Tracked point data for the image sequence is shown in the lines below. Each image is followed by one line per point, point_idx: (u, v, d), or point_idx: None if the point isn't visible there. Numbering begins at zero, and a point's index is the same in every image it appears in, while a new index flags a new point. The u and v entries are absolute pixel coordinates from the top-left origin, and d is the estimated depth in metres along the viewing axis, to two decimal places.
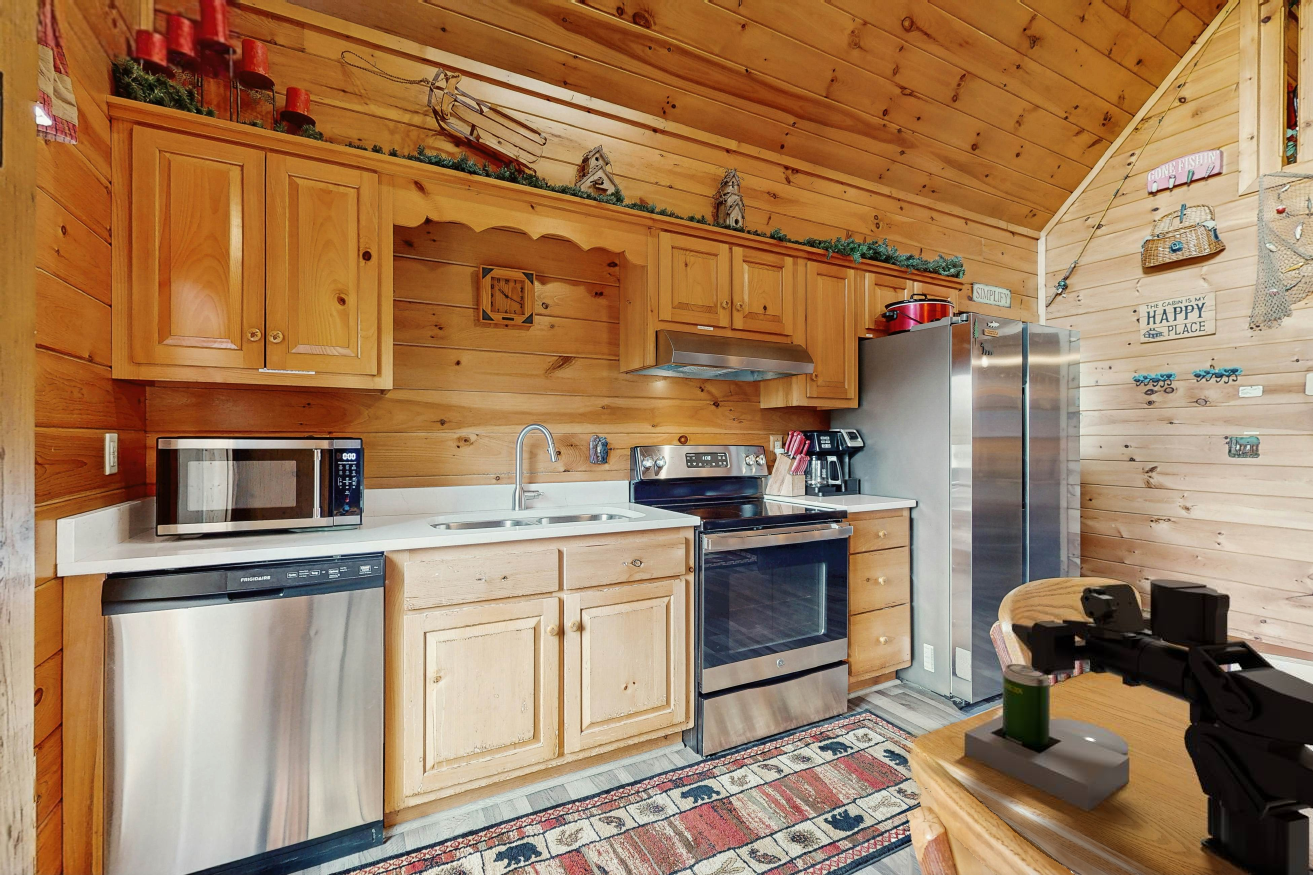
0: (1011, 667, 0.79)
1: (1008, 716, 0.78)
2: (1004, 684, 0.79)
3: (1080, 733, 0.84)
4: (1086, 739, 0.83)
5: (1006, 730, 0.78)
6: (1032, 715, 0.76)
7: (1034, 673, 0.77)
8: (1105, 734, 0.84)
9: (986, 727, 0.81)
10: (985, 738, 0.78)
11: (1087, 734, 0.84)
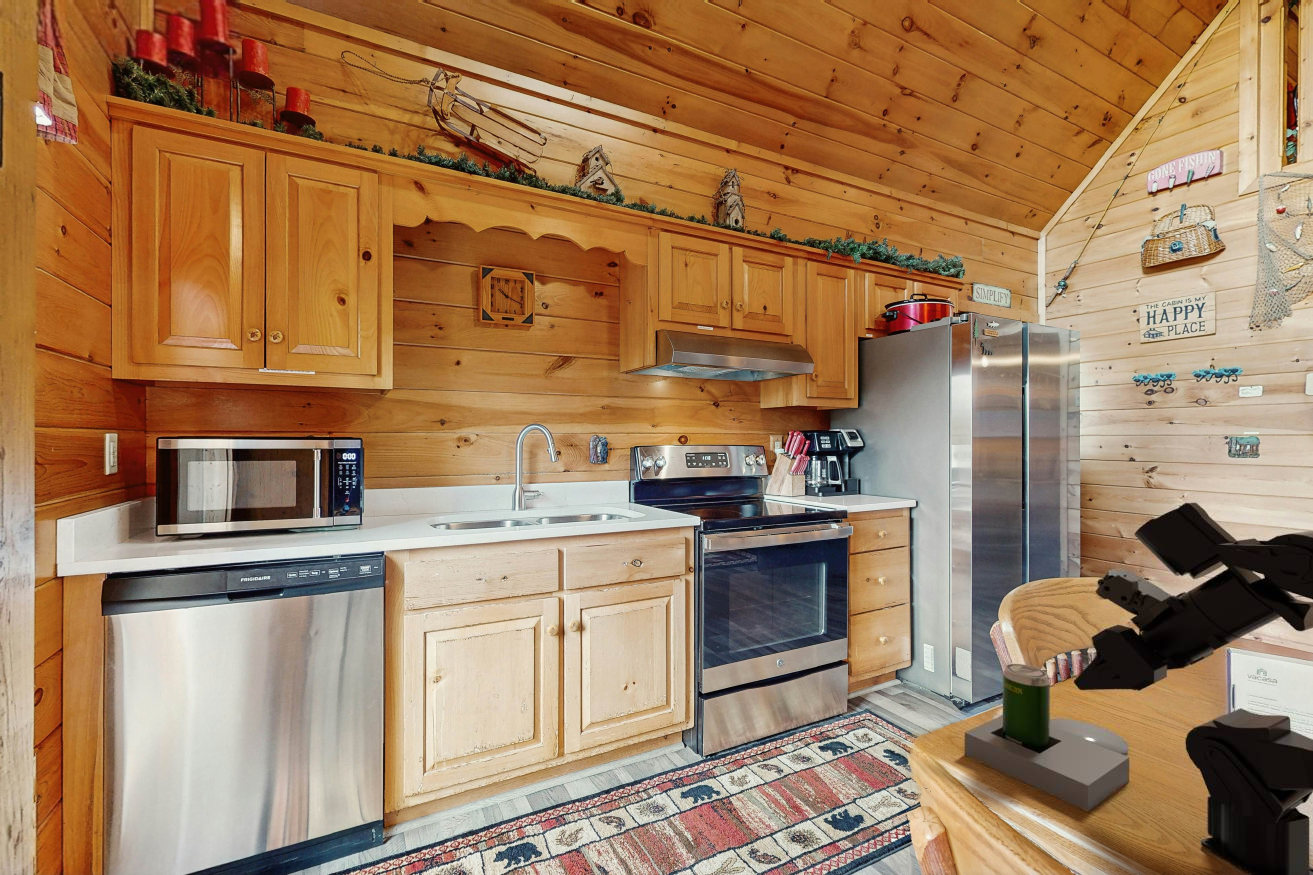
0: (1011, 667, 0.79)
1: (1008, 716, 0.78)
2: (1004, 684, 0.79)
3: (1080, 733, 0.84)
4: (1086, 739, 0.83)
5: (1006, 730, 0.78)
6: (1032, 715, 0.76)
7: (1034, 673, 0.77)
8: (1105, 734, 0.84)
9: (986, 727, 0.81)
10: (985, 738, 0.78)
11: (1087, 734, 0.84)
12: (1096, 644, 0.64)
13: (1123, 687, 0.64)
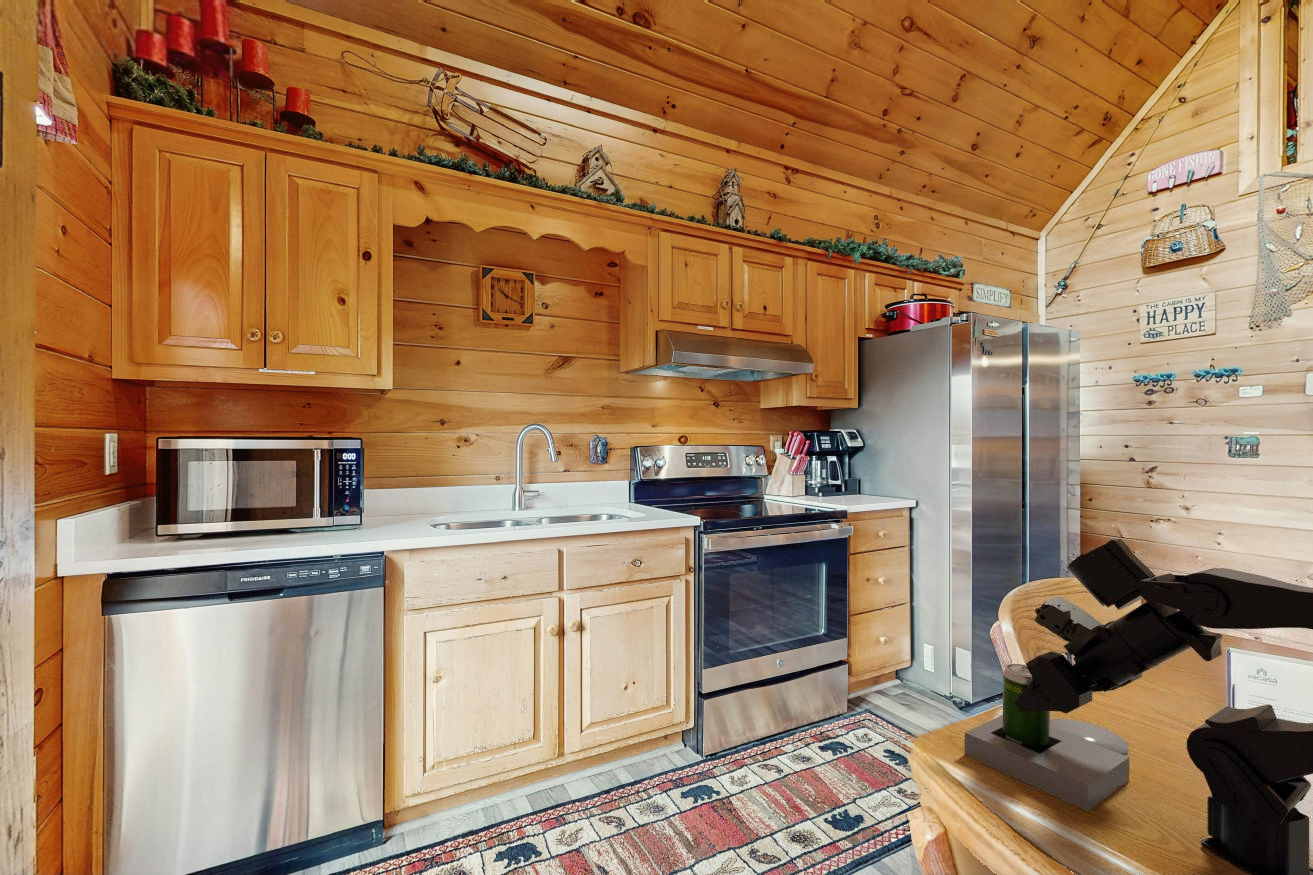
0: (1011, 667, 0.79)
1: (1008, 716, 0.78)
2: (1004, 684, 0.79)
3: (1080, 733, 0.84)
4: (1086, 739, 0.83)
5: (1006, 730, 0.78)
6: (1032, 715, 0.76)
7: None
8: (1105, 734, 0.84)
9: (986, 727, 0.81)
10: (985, 738, 0.78)
11: (1087, 734, 0.84)
12: (1030, 670, 0.69)
13: (1055, 709, 0.69)
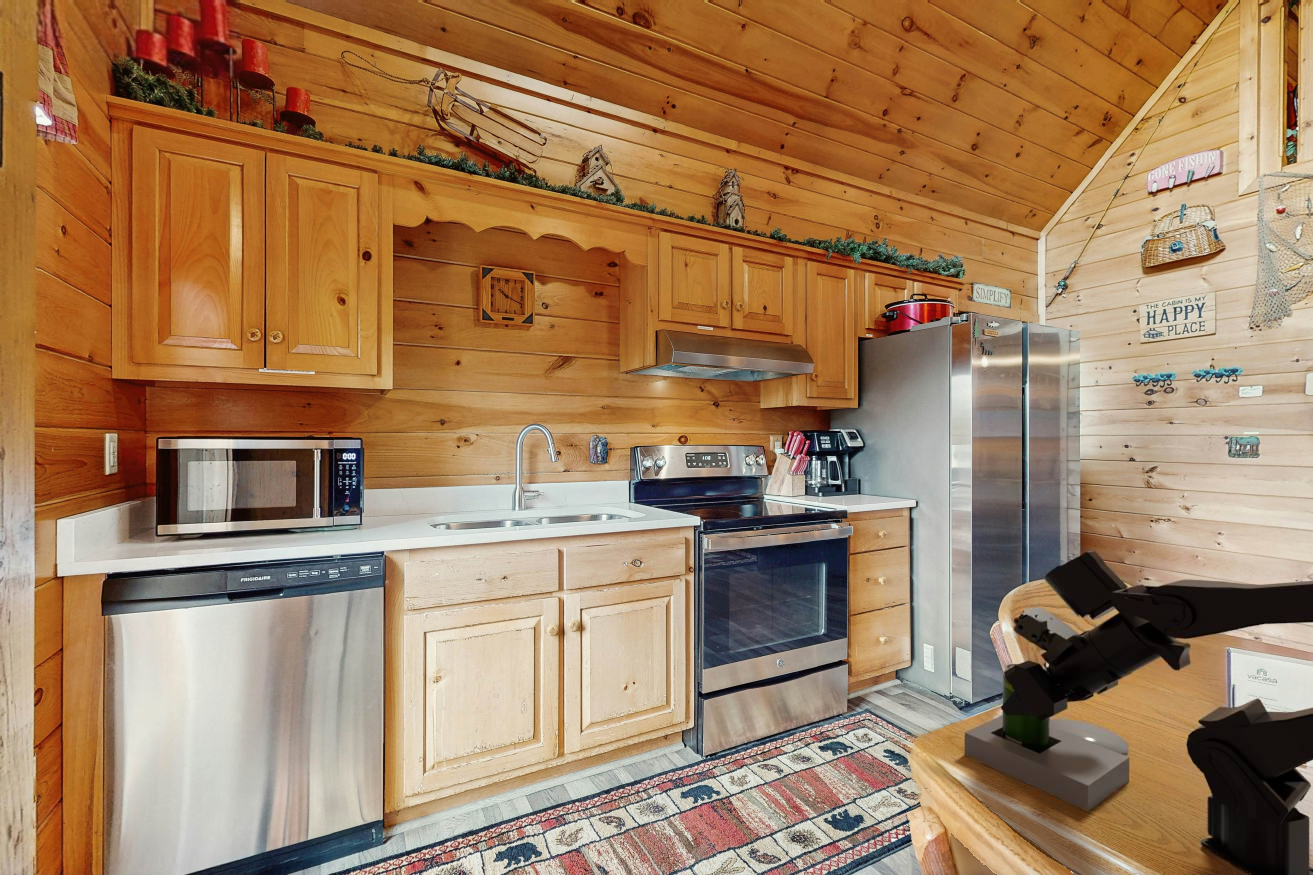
0: None
1: (1008, 716, 0.78)
2: (1004, 684, 0.79)
3: (1080, 733, 0.84)
4: (1086, 739, 0.83)
5: (1006, 730, 0.78)
6: None
7: None
8: (1105, 734, 0.84)
9: (986, 727, 0.81)
10: (985, 738, 0.78)
11: (1087, 734, 0.84)
12: (1007, 678, 0.71)
13: None
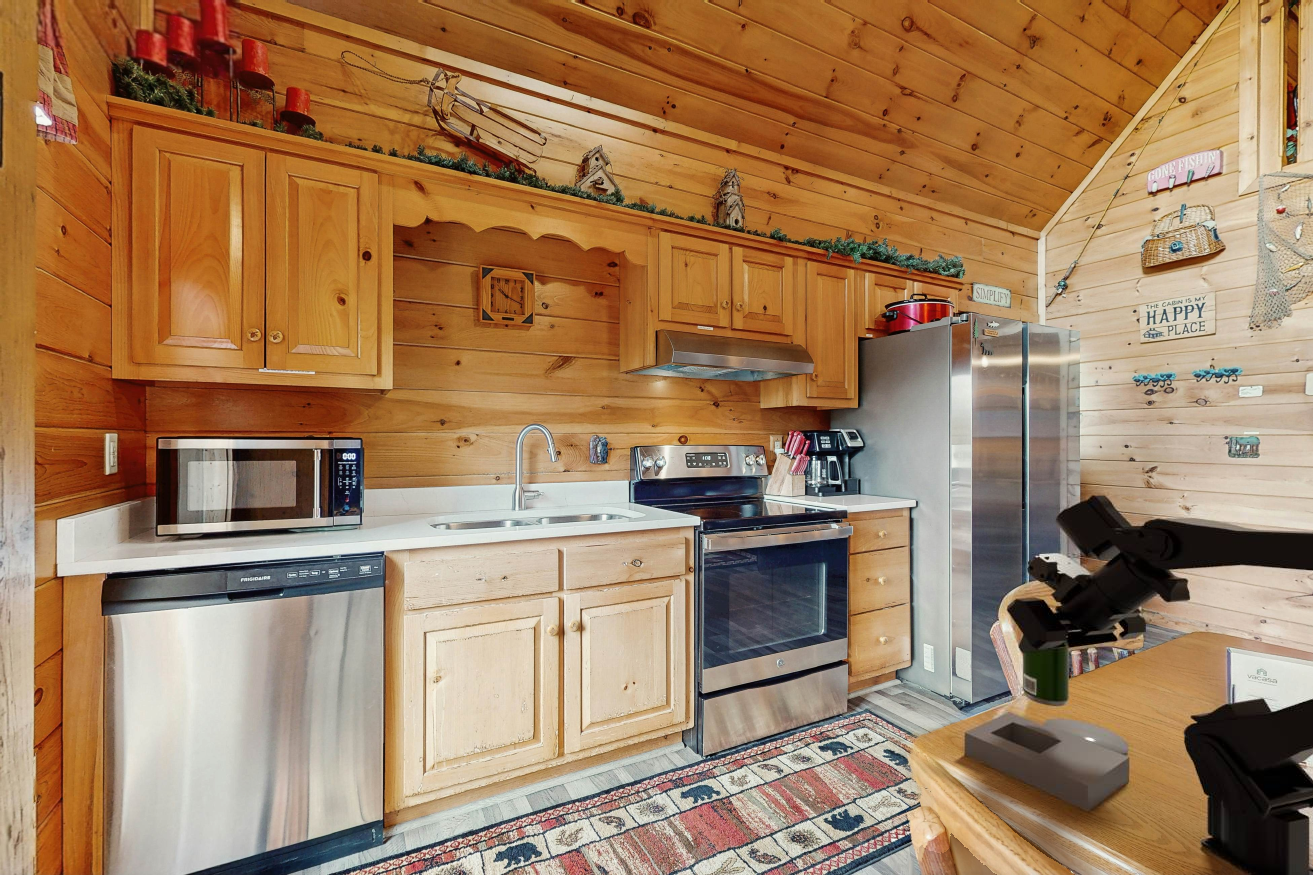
0: None
1: (1025, 655, 0.82)
2: None
3: (1080, 733, 0.84)
4: (1086, 739, 0.83)
5: (1024, 668, 0.82)
6: (1046, 653, 0.79)
7: None
8: (1105, 734, 0.84)
9: (986, 727, 0.81)
10: (985, 738, 0.78)
11: (1087, 734, 0.84)
12: (1008, 611, 0.77)
13: (1045, 648, 0.77)
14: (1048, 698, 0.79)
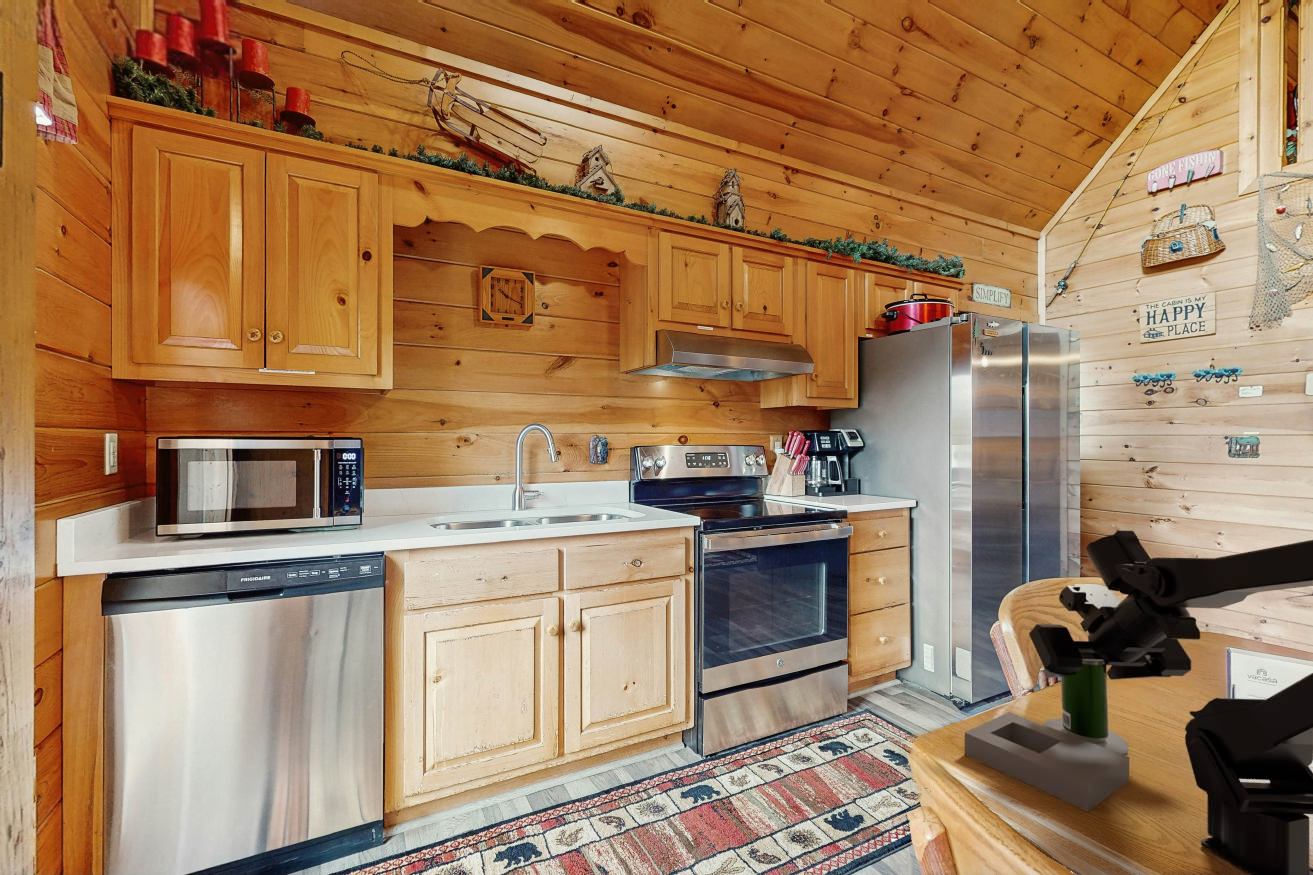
0: None
1: (1062, 690, 0.85)
2: None
3: None
4: None
5: (1062, 703, 0.85)
6: (1078, 689, 0.82)
7: None
8: None
9: (986, 727, 0.81)
10: (985, 738, 0.78)
11: None
12: (1030, 635, 0.82)
13: (1057, 673, 0.81)
14: (1081, 733, 0.82)
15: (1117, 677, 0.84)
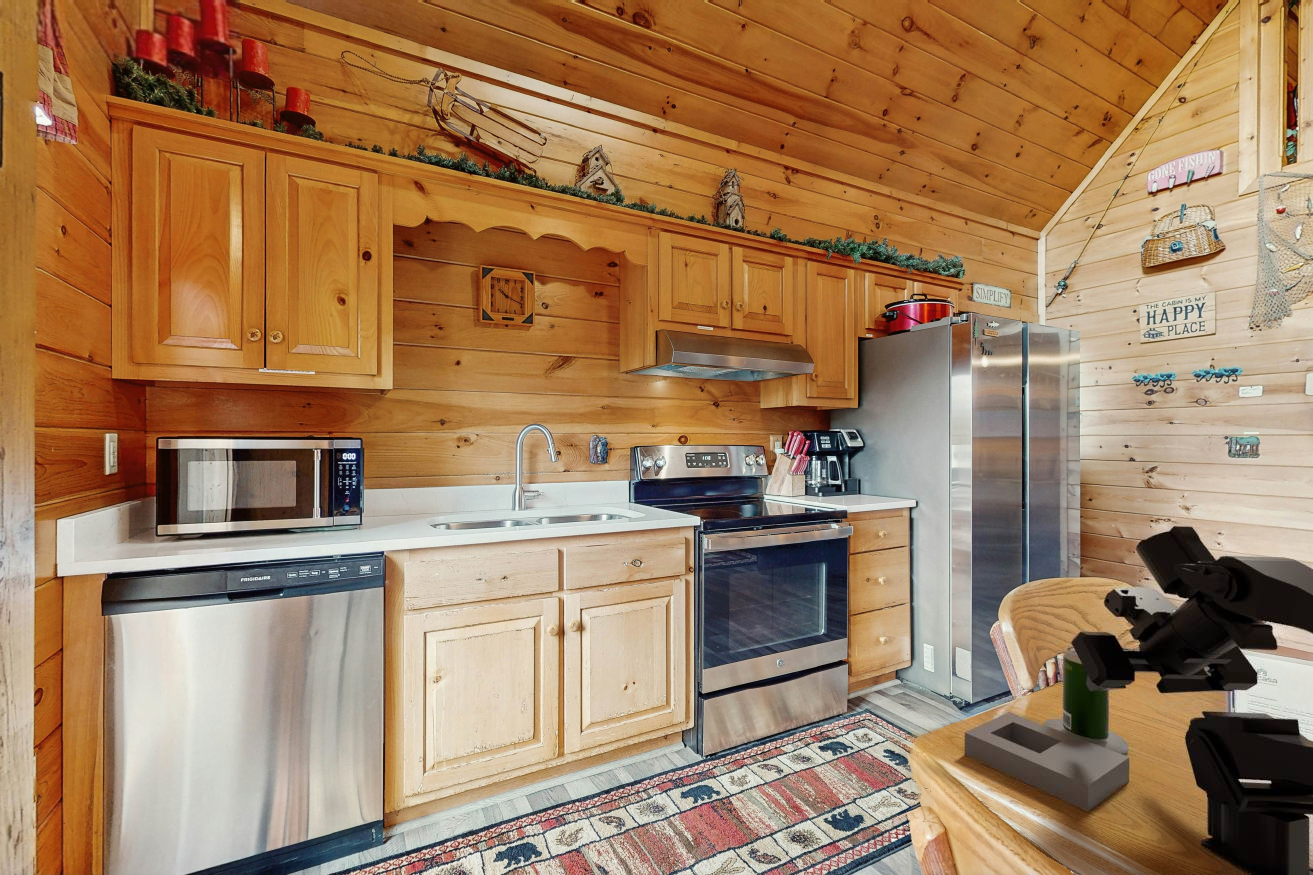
0: None
1: (1063, 691, 0.85)
2: None
3: None
4: None
5: None
6: (1080, 690, 0.82)
7: None
8: None
9: (986, 727, 0.81)
10: (985, 738, 0.78)
11: None
12: (1072, 644, 0.74)
13: None
14: (1082, 734, 0.82)
15: (1169, 691, 0.75)
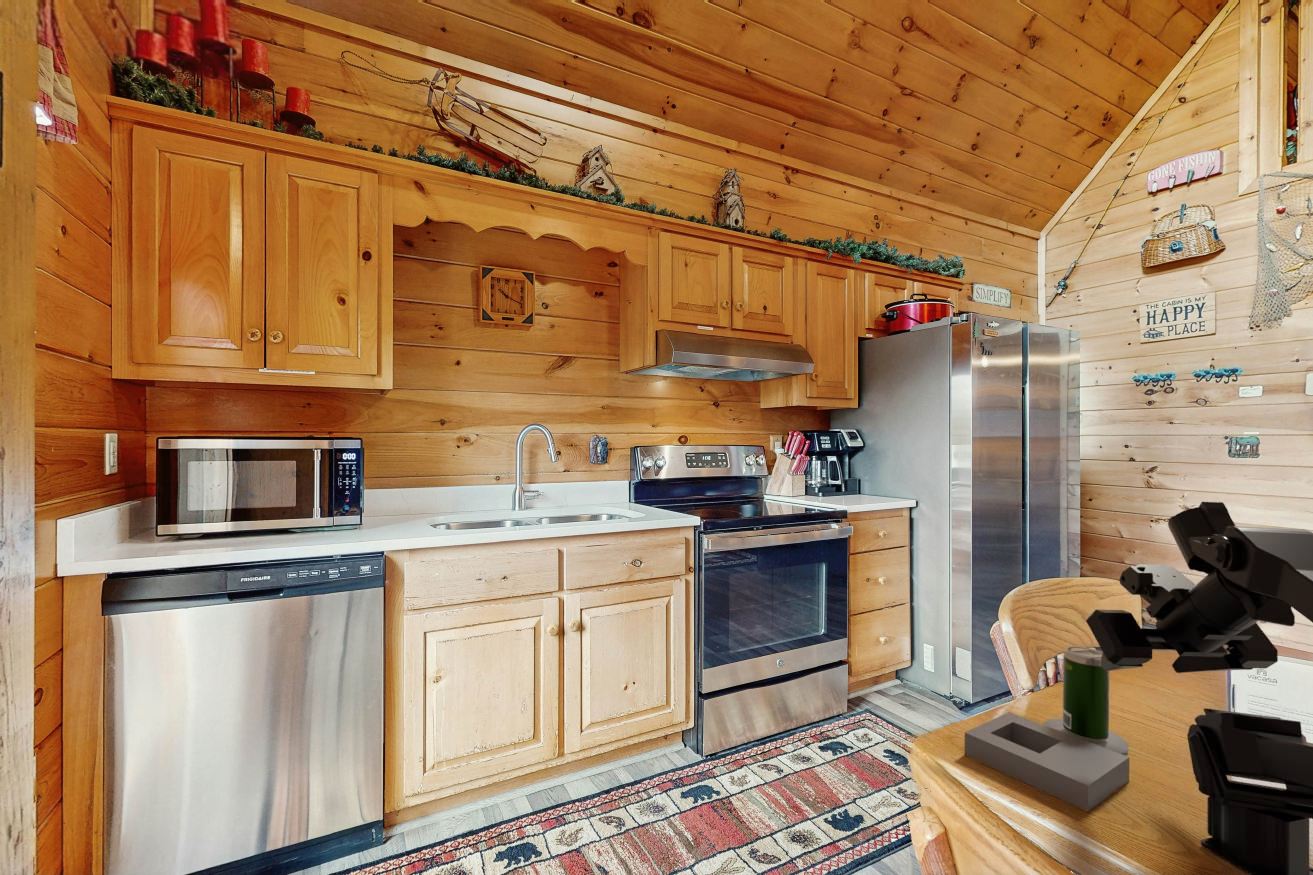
0: (1074, 648, 0.86)
1: (1063, 691, 0.85)
2: (1063, 662, 0.86)
3: None
4: None
5: (1063, 703, 0.85)
6: (1081, 690, 0.82)
7: (1090, 654, 0.83)
8: None
9: (986, 727, 0.81)
10: (985, 738, 0.78)
11: None
12: (1087, 622, 0.72)
13: (1120, 665, 0.70)
14: (1082, 734, 0.82)
15: (1185, 670, 0.74)
